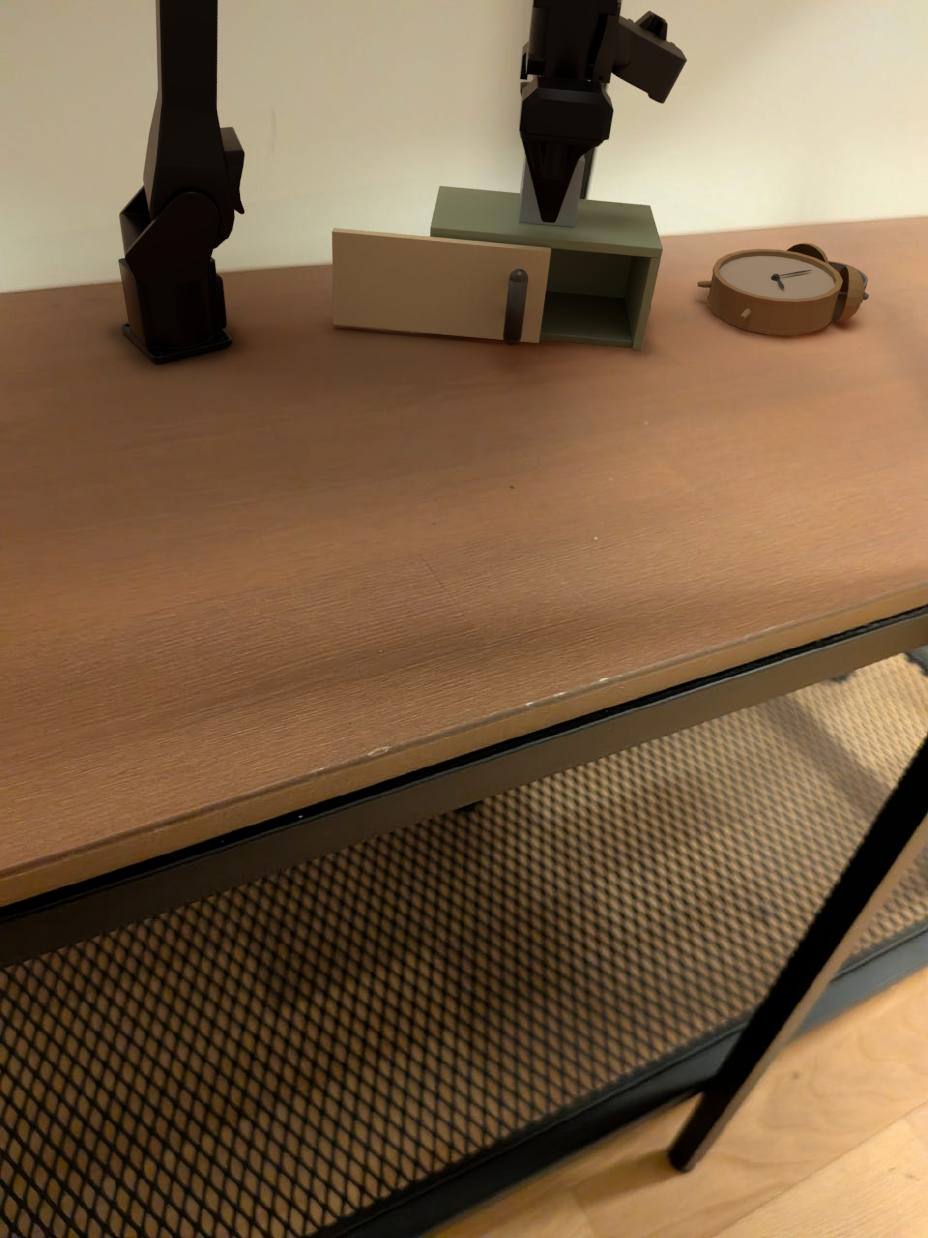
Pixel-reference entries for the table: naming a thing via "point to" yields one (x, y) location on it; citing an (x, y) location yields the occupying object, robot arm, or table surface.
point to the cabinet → (571, 261)
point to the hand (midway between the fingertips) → (547, 203)
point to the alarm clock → (784, 290)
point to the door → (439, 285)
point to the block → (568, 208)
